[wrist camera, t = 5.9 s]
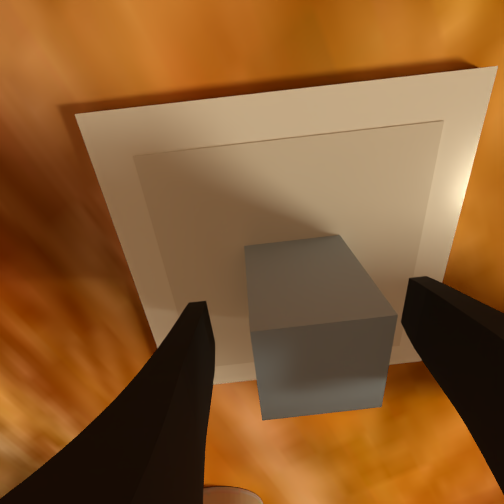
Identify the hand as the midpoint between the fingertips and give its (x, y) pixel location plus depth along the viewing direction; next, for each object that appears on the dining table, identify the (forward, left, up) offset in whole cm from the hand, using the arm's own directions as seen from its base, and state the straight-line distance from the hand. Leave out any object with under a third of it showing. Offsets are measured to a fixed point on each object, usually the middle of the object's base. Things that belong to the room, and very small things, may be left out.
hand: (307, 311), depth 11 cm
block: (0, 0, -3) cm, 3 cm away
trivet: (0, 0, -4) cm, 4 cm away
